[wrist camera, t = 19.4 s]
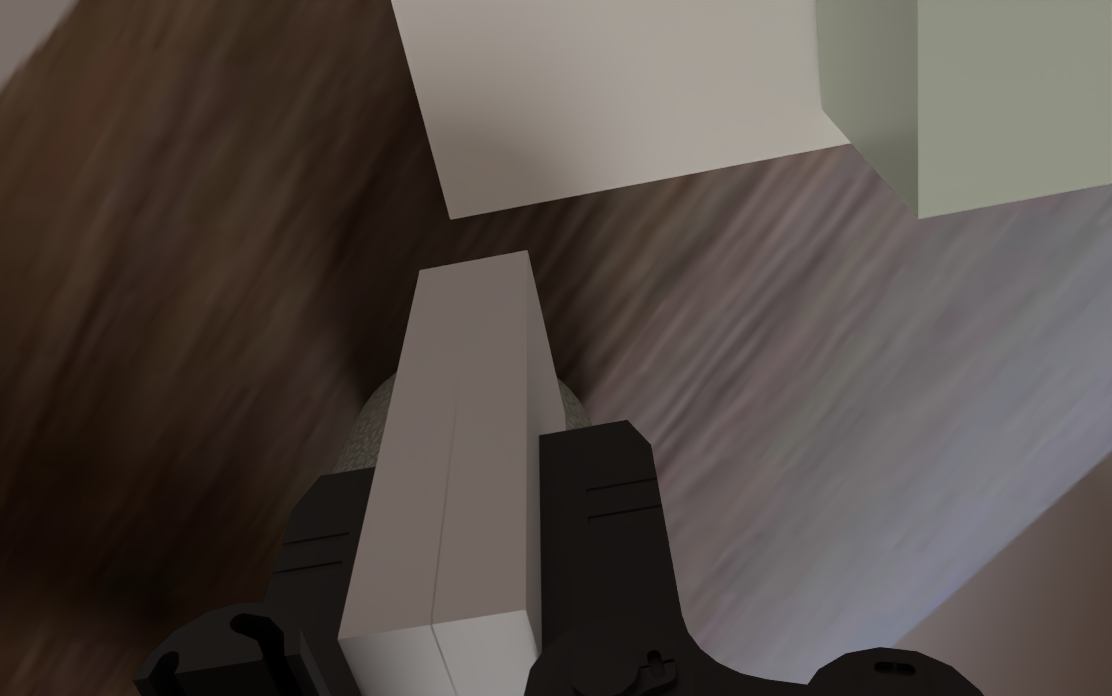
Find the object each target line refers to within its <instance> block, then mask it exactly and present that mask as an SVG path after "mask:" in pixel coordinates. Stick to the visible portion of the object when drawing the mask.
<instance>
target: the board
mask: <svg viewBox="0 0 1112 696" xmlns="http://www.w3.org/2000/svg"><path fill="white" fill-rule="evenodd" d="M391 2H392V5H393V9H394V13H395V17H396V20H397V24H398V28H399V31H400V35H401V39H402V43H403V46H404V50H405V54H406V57H407V61H408V65H409V69H410V72H411V76H412V80H413V83H414V87H415V91H416V95H417V98H418V102H419V106H420V109H421V113H422V117H423V120H424V124H425V128H426V132H427V135H428V139H429V143H430V146H431V150H432V154H433V158H434V161H435V165H436V169H437V172H438V176H439V180H440V184H441V187H442V191H443V195H444V198H445V202H446V206H447V210H448V213H449V217H450V220H452V219H457V218H462V217H467V216H473V215H478V214H483V213H488V212H493V211H499V210H504V209H509V208H514V207H520V206H525V205H530V204H535V203H540V202H546V201H551V200H556V199H561V198H567V197H572V196H577V195H582V194H588V193H593V192H598V191H603V190H608V189H614V188H619V187H624V186H629V185H635V184H640V183H645V182H650V181H656V180H661V179H666V178H671V177H676V176H682V175H687V174H692V173H697V172H703V171H708V170H713V169H718V168H723V167H729V166H734V165H739V164H744V163H750V162H755V161H760V160H765V159H771V158H776V157H781V156H786V155H791V154H797V153H802V152H807V151H812V150H818V149H823V148H828V147H833V146H839V145H844V144H849V143H851V142H850V141H849V140H848V139H847V138H846V136H845V135H844V134H843V133H842V132H841V131H840V130H839V129H838V127H837V126H836V125H835V124H834V123H833V122H832V121H831V119H830V118H829V117H828V116H827V115H826V114H825V113H824V112H823V110H822V104H821V86H820V68H819V50H818V31H817V13H816V0H391Z"/></svg>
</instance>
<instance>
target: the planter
mask: <svg viewBox="0 0 1112 696" xmlns="http://www.w3.org/2000/svg"><path fill="white" fill-rule="evenodd" d="M396 375H397V372H396V373H394V374H393V375H392V376H391V377H389V378H388V379H387V380H386V381H385V382H384V383H383V384H382V385H381V386H380V387H379V388H378V389H377V390H376V391H375V392H374V393H373V394H372V396H371V397H370V398H369V400H368V401H367V403H366V404H365V405H364V407H363V409H362V410H361V412H360V414H359V416H358V417H357V419H356V421H355V423H354V424H353V426H352V428H351V430H350V432H349V434H348V437H347V439H346V441H345V443H344V445H343V447H342V449H341V452H340V454H339V457H338V459H337V461H336V464H335V466H334V468H333V471H332V473H331V474H335V473H340V472H346V471H352V470H358V469H364V468H370V467H375V466H376V464H377V460H378V455H379V451H380V446H381V442H382V437H383V433H384V428H385V424H386V419H387V415H388V410H389V406H390V401H391V397H392V392H393V388H394V383H395V379H396ZM557 381H558V386H559V390H560V394H561V399H562V403H563V407H564V412H565V424H566V430H572V429H578V428H584V427H589V426H593V425H592V423H591V421H590V419H589V416H588V415H587V413H586V411H585V409H584V407H583V406H582V404H581V403H580V401H579V400H578V399H577V397H576V396H575V395H574V394H573V392H572V391H571V390H570V389H569V388H568V387H567V386H566V385H565V384H564V383H563V382H562V381H561V380H560V379H559V378H557Z"/></svg>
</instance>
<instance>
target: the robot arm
mask: <svg viewBox="0 0 1112 696" xmlns="http://www.w3.org/2000/svg"><path fill="white" fill-rule="evenodd" d="M282 545H283V550H280V551H279V554H278V557H277V560H276V563H275V566H274V570H273V575H274V578H273V579H270V582H269V585H268V588H267V591H266V594H265V597H264V600H263V603H236V604H233V605H229V606H226V607H223V608H219V609H216V610H213V611H210V612H206V613H205V614H203V615H201V616H199V617H198V618H196V619H194V620H192V621H191V622H189V623H187V624H185V625H184V626H182V627H180V628H178V629H177V630H175V631H174V632H173V633H172V634H171V635H170V636H169V637H168V638H166V639H165V640H164V641H163V642H162V643H161V644H160V645H159V646H158V647H157V648H155V649H154V650H153V651H152V652H151V653H150V654H149V656H148V657H147V659H146V660H145V662H144V663H143V665H142V667H141V668H140V670H139V671H138V673H137V674H136V676H135V677H134V679H133V682H134V684H135V685H136V687H137V689H138V690H139V692H140V694H141V695H142V696H984V695H983V694H982V692H981V691H980V690H979V689H978V688H976V687H975V686H974V685H973V684H972V683H971V682H969V681H968V680H967V679H966V678H965V677H963V676H962V675H961V674H960V673H959V672H958V671H956V670H955V669H954V668H953V667H952V666H950V665H947V664H945V663H943V662H940V661H938V660H936V659H933V658H931V657H929V656H926V655H924V654H922V653H919V652H917V651H909V650H900V649H892V648H883V647H878V648H873V649H867V650H862V651H856V652H851V653H846V654H844V655H842V656H841V657H839V658H837V659H836V660H834V661H832V662H830V663H829V664H827V665H825V666H824V667H822V668H820V669H818V671H817V672H816V674H815V675H814V676H813V678H812V679H811V681H810V682H809V683H808V685H806V684H798V683H790V682H783V681H775V680H768V679H763V678H759V677H754V676H750V675H746V674H741V673H739V672H737V671H735V670H732V669H730V668H728V667H726V666H724V665H722V664H720V663H718V662H716V661H715V660H714V659H713V658H711V657H710V656H709V655H708V654H706V653H705V652H704V651H703V650H701V649H700V648H699V646H698V645H697V644H696V642H695V641H694V640H693V638H692V637H691V636H690V634H689V633H688V631H687V628H686V625H685V622H684V619H683V617H682V613H681V607H680V602H679V596H678V591H677V585H676V580H675V574H674V569H673V563H672V558H671V552H670V547H669V541H668V536H667V530H666V525H665V519H664V514H663V509H662V503H661V498H660V492H659V487H658V481H657V476H656V470H655V465H654V459H653V454H652V448H651V444H650V443H649V442H648V441H647V440H646V439H645V438H644V437H643V436H642V435H641V434H640V433H639V432H638V431H637V430H636V429H635V428H634V427H633V426H632V424H631V423H630V422H629V421H628V420H624V421H618V422H613V423H607V424H601V425H595V426H589V427H584V428H578V429H572V430H566V424H565V412H564V407H563V403H562V399H561V394H560V390H559V386H558V381H557V377H556V373H555V368H554V364H553V360H552V355H551V351H550V346H549V342H548V338H547V333H546V329H545V325H544V320H543V316H542V312H541V307H540V303H539V299H538V294H537V290H536V285H535V281H534V277H533V272H532V268H531V264H530V259H529V255H528V251H527V250H525V251H520V252H515V253H509V254H504V255H499V256H493V257H488V258H483V259H477V260H472V261H467V262H461V263H456V264H451V265H445V266H440V267H435V268H429V269H424V270H420V271H419V276H418V280H417V285H416V289H415V294H414V298H413V303H412V307H411V312H410V316H409V321H408V325H407V330H406V334H405V339H404V343H403V348H402V352H401V357H400V361H399V366H398V370H397V375H396V379H395V383H394V388H393V392H392V397H391V401H390V406H389V410H388V415H387V419H386V424H385V428H384V433H383V437H382V442H381V446H380V451H379V455H378V460H377V464H376V466H375V467H370V468H364V469H358V470H352V471H346V472H340V473H335V474H329V475H323V476H320V477H319V478H318V479H317V481H316V482H315V483H314V484H313V485H312V487H311V488H310V489H309V490H308V492H307V493H306V494H305V495H304V496H303V498H302V499H301V500H300V501H299V502H298V504H297V505H296V506H295V507H294V508H293V511H292V514H291V517H290V520H289V523H288V526H287V529H286V532H285V536H284V539H283V542H282Z"/></svg>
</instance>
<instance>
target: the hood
mask: <svg viewBox="0 0 1112 696" xmlns="http://www.w3.org/2000/svg"><path fill="white" fill-rule="evenodd" d="M816 13H817V31H818V50H819V68H820V86H821V104H822V110H823V112H824V113H825V114H826V115H827V116H828V117H829V118H830V119H831V121H832V122H833V123H834V124H835V125H836V126H837V127H838V129H839V130H840V131H841V132H842V133H843V134H844V135H845V136H846V138H847V139H848V140H849V141H850V142H851V143H852V144H853V146H854V147H855V148H856V149H857V150H858V151H859V152H860V153H861V155H862V156H863V157H864V158H865V159H866V160H867V161H868V163H869V164H870V165H871V166H872V167H873V168H874V169H875V170H876V172H877V173H878V174H879V175H880V176H881V177H882V178H883V180H884V181H885V182H886V183H887V184H888V185H889V186H890V188H891V189H892V190H893V191H894V192H895V193H896V194H897V195H898V197H899V198H900V199H901V200H902V201H903V202H904V203H905V205H906V206H907V207H908V208H909V209H910V210H911V211H912V212H913V214H914V215H915V216H916V217H917V218H918V219H922V218H927V217H933V216H938V215H943V214H949V213H954V212H960V211H965V210H970V209H976V208H981V207H987V206H992V205H998V204H1003V203H1008V202H1014V201H1019V200H1025V199H1030V198H1036V197H1041V196H1046V195H1052V194H1057V193H1063V192H1068V191H1074V190H1079V189H1084V188H1090V187H1095V186H1101V185H1106V184H1112V0H816Z"/></svg>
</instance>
